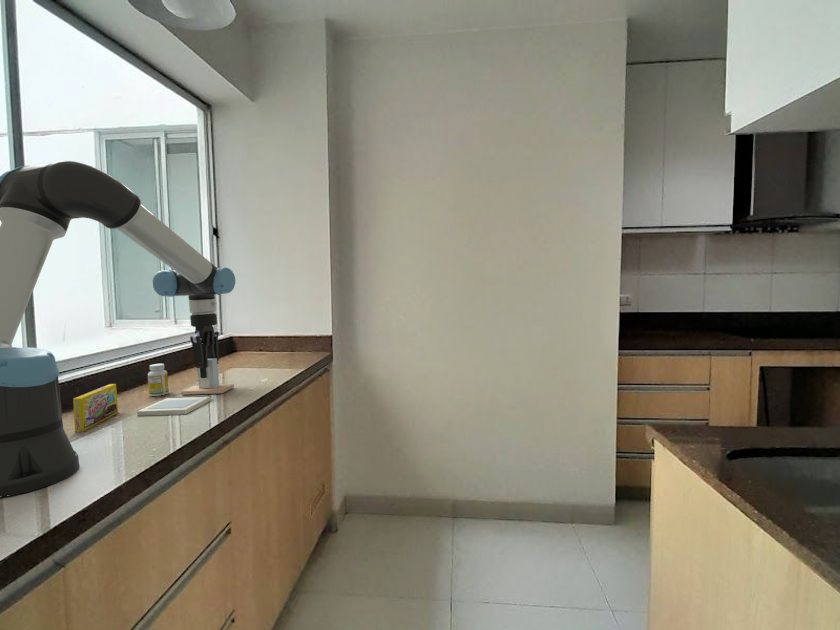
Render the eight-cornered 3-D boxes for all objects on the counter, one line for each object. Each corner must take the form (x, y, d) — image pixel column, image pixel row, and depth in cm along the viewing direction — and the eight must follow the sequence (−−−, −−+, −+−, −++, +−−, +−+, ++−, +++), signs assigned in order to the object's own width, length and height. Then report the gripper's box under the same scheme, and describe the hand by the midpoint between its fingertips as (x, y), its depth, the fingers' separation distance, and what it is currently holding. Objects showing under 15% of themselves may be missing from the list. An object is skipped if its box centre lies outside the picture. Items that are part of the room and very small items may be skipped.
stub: (222, 393, 138) (219, 361, 137) (181, 394, 138) (178, 362, 138) (233, 387, 146) (231, 356, 145) (195, 388, 146) (192, 358, 146)
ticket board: (185, 414, 117) (185, 409, 117) (137, 415, 118) (136, 410, 118) (211, 399, 131) (211, 395, 131) (168, 401, 132) (168, 396, 132)
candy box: (84, 432, 106) (80, 398, 106) (74, 433, 106) (70, 398, 105) (119, 412, 122) (116, 383, 122) (111, 413, 122) (108, 383, 121)
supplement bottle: (156, 397, 137) (153, 366, 137) (145, 396, 140) (142, 365, 139) (172, 393, 142) (170, 363, 141) (162, 391, 145) (159, 362, 144)
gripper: (201, 314, 133) (207, 392, 135) (226, 311, 149) (232, 380, 151) (176, 315, 133) (183, 393, 135) (204, 312, 149) (210, 381, 151)
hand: (209, 386), depth 143 cm, fingers closed on stub, 3 cm apart
